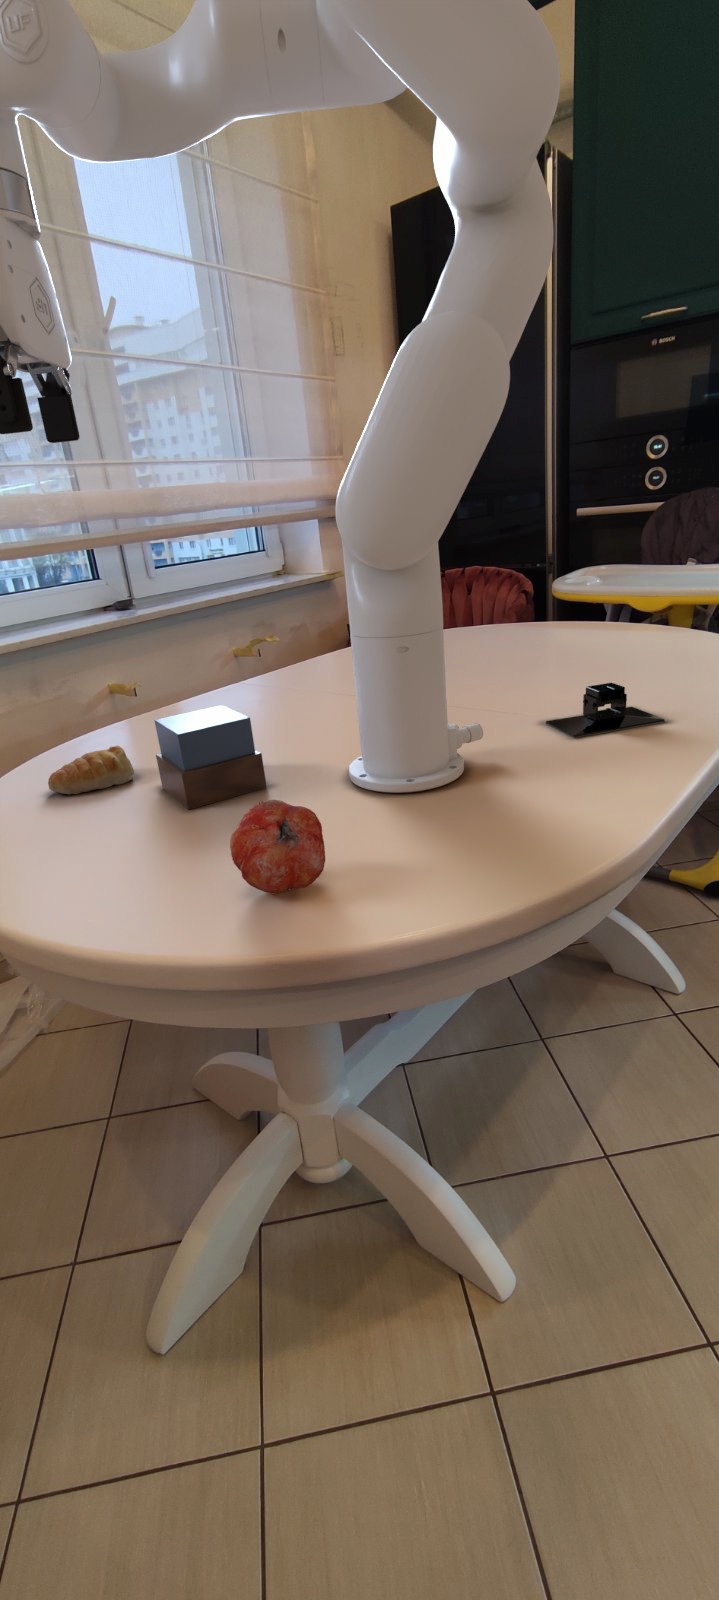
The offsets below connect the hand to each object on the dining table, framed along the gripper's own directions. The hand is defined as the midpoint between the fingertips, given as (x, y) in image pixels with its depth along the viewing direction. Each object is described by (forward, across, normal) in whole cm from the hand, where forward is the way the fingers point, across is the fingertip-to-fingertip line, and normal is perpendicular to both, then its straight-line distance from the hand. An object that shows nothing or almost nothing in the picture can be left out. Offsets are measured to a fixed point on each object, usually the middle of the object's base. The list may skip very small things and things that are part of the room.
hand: (41, 437), depth 68 cm
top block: (+32, +1, -10) cm, 34 cm away
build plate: (+36, +15, -56) cm, 69 cm away
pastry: (+36, +5, +5) cm, 37 cm away
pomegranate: (+36, -23, -22) cm, 48 cm away
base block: (+36, +1, -10) cm, 38 cm away
